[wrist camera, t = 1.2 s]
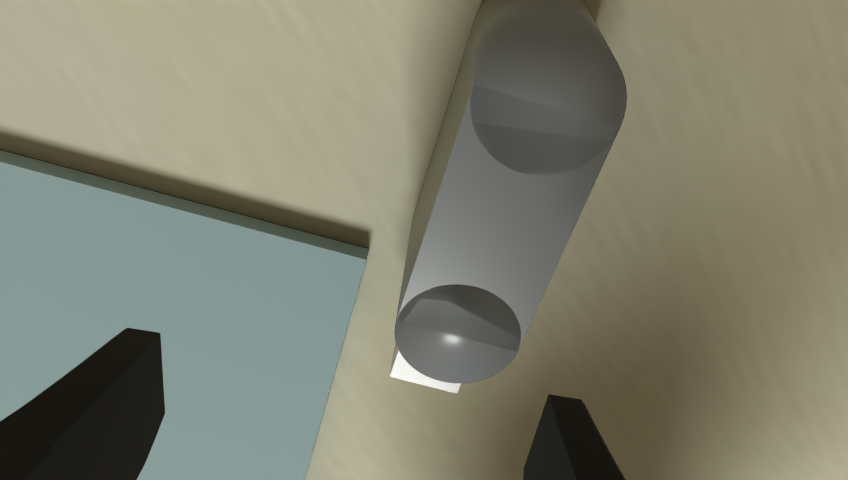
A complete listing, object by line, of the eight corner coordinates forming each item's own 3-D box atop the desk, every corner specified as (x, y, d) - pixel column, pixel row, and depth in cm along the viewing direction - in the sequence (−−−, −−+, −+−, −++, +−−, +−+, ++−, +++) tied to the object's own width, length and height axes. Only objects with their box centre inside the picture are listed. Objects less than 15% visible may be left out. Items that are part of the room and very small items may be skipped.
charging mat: (368, 249, 22) (366, 259, 21) (295, 511, 28) (291, 524, 28) (-65, 132, 21) (-80, 140, 20) (-35, 434, 27) (-45, 446, 27)
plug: (610, -6, 17) (653, 55, 13) (474, 330, 23) (473, 448, 19) (493, -42, 17) (498, 7, 13) (385, 307, 23) (363, 421, 18)
